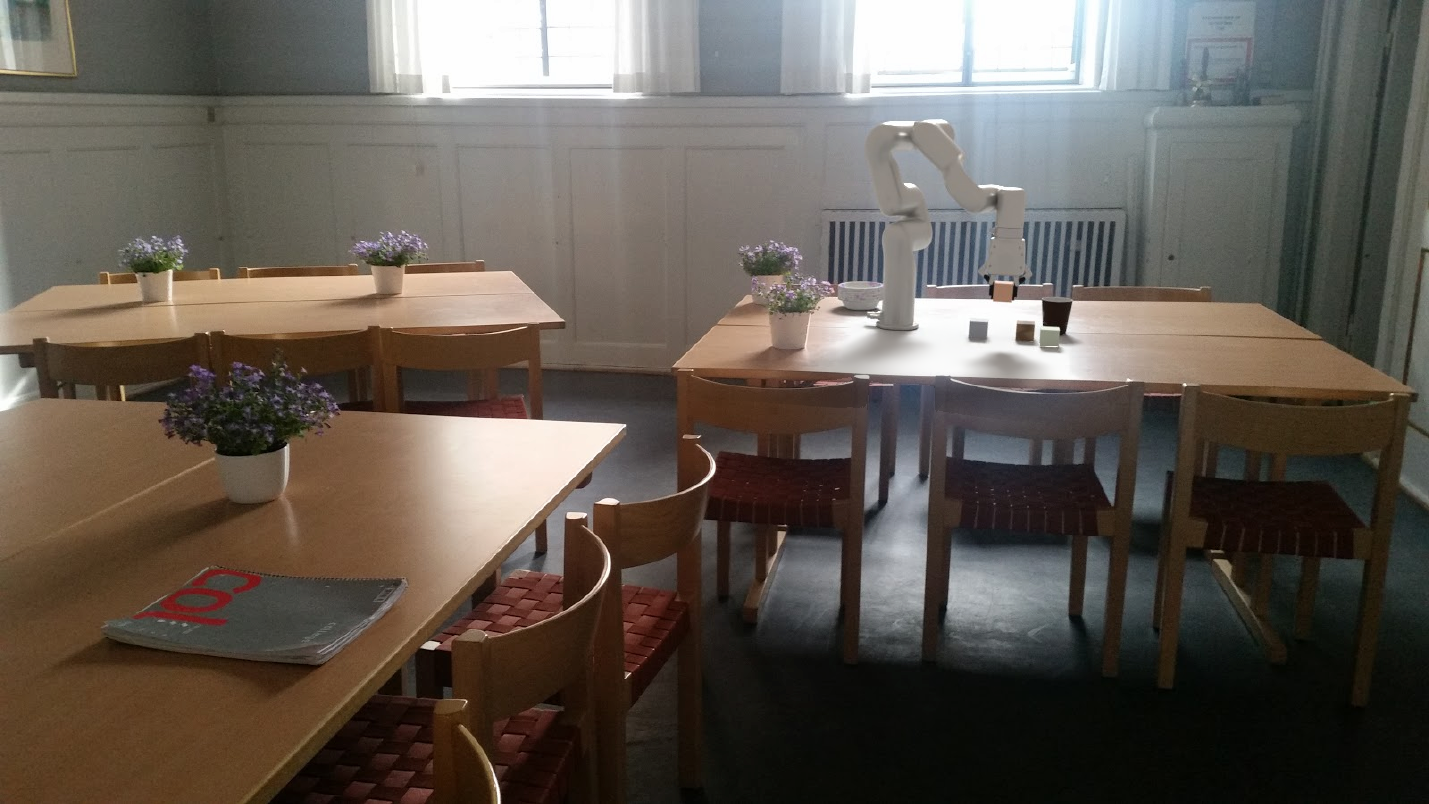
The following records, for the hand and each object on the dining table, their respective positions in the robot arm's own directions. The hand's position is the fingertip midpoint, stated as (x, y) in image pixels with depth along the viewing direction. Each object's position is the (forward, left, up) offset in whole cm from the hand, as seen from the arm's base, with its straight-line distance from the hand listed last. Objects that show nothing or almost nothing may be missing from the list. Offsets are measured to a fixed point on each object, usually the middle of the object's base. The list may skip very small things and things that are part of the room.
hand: (1002, 298), depth 308 cm
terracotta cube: (0, 0, -1) cm, 1 cm away
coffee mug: (+16, +20, -13) cm, 28 cm away
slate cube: (-6, +7, -13) cm, 16 cm away
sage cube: (+13, 0, -13) cm, 18 cm away
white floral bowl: (-45, +43, -13) cm, 64 cm away
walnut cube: (+7, +7, -13) cm, 16 cm away
